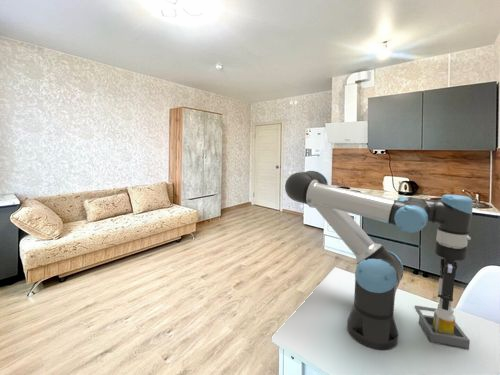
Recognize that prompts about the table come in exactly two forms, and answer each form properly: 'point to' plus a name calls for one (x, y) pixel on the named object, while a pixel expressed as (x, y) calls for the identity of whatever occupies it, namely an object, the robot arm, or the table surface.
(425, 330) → the bin
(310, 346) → the table surface
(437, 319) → the supplement bottle
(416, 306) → the socket collar
